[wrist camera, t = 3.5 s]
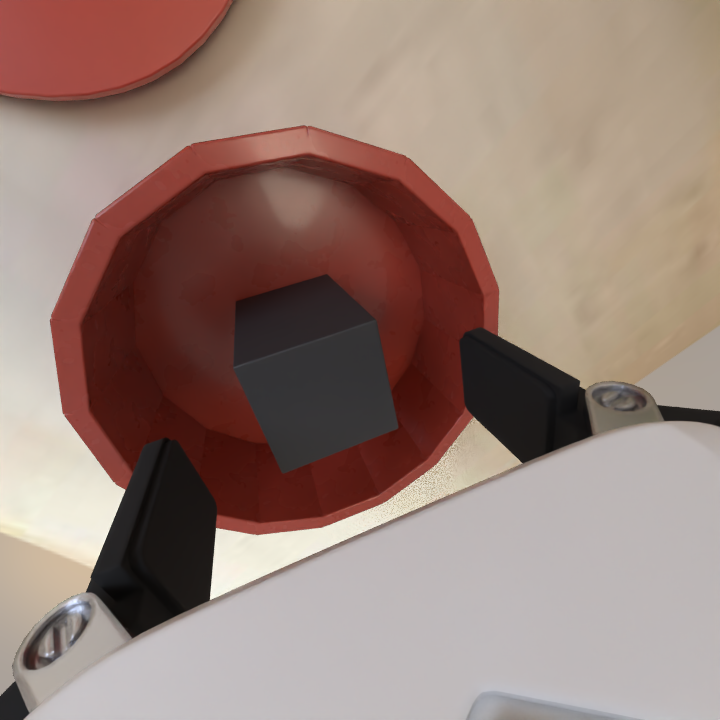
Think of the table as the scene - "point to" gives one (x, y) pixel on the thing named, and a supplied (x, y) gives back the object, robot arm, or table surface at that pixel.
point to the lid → (97, 44)
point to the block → (312, 370)
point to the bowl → (256, 276)
